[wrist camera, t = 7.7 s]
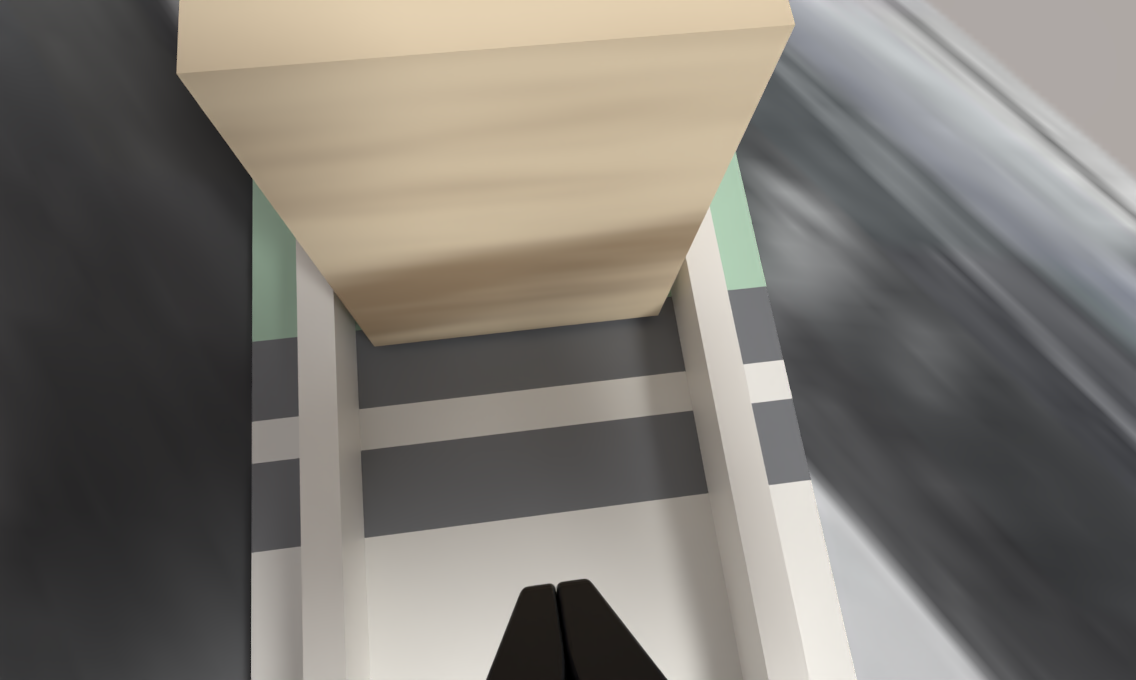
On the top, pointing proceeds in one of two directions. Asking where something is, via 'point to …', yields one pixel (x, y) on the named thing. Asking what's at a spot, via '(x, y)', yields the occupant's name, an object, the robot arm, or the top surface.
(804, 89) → the top surface
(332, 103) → the maple block
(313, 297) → the track
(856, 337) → the top surface
